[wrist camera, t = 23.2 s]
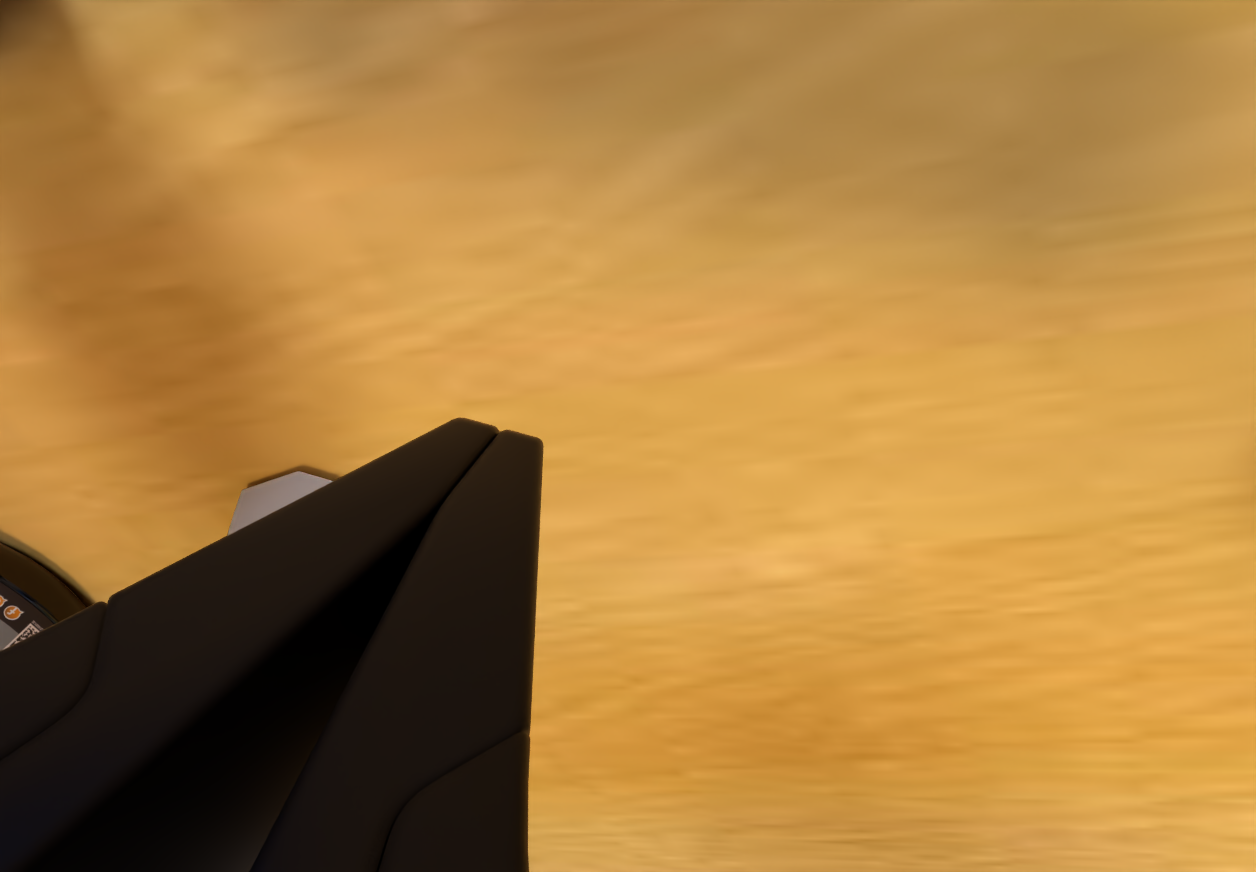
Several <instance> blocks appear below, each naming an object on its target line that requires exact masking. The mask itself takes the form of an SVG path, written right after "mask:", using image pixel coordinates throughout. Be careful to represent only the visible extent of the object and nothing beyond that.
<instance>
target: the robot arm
mask: <svg viewBox="0 0 1256 872" xmlns="http://www.w3.org/2000/svg"><path fill="white" fill-rule="evenodd" d="M542 466H543V442H542V441H541V440H540V439H539V438H537V437H533V436H529V435H526V434H522V433H518V432H515V431H511V430H504V431H501V432H500V431H499V430H498V429H497V428H496V427H495V426H492V425H489V424H485V423H481V422H478V421H474V420H470V419H466V418H456V419H453V420H451V421H449V422H447V423H445V424H443V425H441V426H439V427H437V428H435V429H434V430H432V431H430V432H428V433H426V434H424V435H422V436H420V437H418V438H416V439H414V440H412V441H410V442H408V443H406V444H404V445H402V446H401V447H399V448H397V449H395V450H393V451H391V452H389V453H387V454H385V455H383V456H381V457H379V458H377V459H375V460H373V461H371V462H369V463H368V464H366V465H364V466H362V467H360V468H358V469H356V470H354V471H352V472H350V473H348V474H346V475H344V476H342V477H340V478H338V479H336V480H335V481H333V482H331V483H329V484H327V485H325V486H323V487H321V488H319V489H317V490H315V491H313V492H311V493H309V494H307V495H305V496H303V497H302V498H300V499H298V500H296V501H294V502H292V503H290V504H288V505H286V506H284V507H282V508H280V509H278V510H276V511H274V512H272V513H270V514H269V515H267V516H265V517H263V518H261V519H259V520H257V521H255V522H253V523H251V524H249V525H247V526H245V527H243V528H241V529H239V530H237V531H236V532H234V533H232V534H230V535H228V536H226V537H224V538H222V539H220V540H218V541H216V542H214V543H212V544H210V545H208V546H206V547H204V548H203V549H201V550H199V551H197V552H195V553H193V554H191V555H189V556H187V557H185V558H183V559H181V560H179V561H177V562H175V563H173V564H171V565H169V566H168V567H166V568H164V569H162V570H160V571H158V572H156V573H154V574H152V575H150V576H148V577H146V578H144V579H142V580H140V581H138V582H136V583H135V584H133V585H131V586H129V587H127V588H125V589H123V590H121V591H119V592H117V593H115V594H113V595H112V596H111V597H110V598H109V600H108V604H107V603H105V602H97V603H95V604H93V605H91V606H89V607H87V608H85V609H83V610H81V611H79V612H78V613H76V614H74V615H72V616H70V617H68V618H66V619H64V620H62V621H60V622H58V623H56V624H54V625H52V626H50V627H48V628H46V629H44V630H42V631H40V632H38V633H36V634H34V635H32V636H30V637H28V638H26V639H24V640H22V641H20V642H18V643H16V644H14V645H12V646H10V647H8V648H5V649H3V650H1V651H0V872H529V862H528V778H529V756H530V737H529V734H530V724H531V702H532V681H533V659H534V638H535V616H536V595H537V573H538V552H539V531H540V509H541V488H542Z"/></svg>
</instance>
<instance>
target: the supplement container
mask: <svg viewBox="0 0 1256 872" xmlns="http://www.w3.org/2000/svg"><path fill="white" fill-rule="evenodd" d="M85 608H86V607H85V605H84V604H83V603H82V602H81V601H80V600H79V599H78V597H77V596H76V595H75V594H74V593H73V592H72V591H71V590H70V589H69V588H68V587H67V586H65V585H64V584H63V583H62V582H61V581H60V580H59V579H57V578H56V577H55V576H54V575H52V574H51V573H50V572H49V571H47V570H46V569H44V568H43V567H42V566H40V565H39V564H37V563H36V562H34V561H33V560H31V559H30V558H28V557H26V556H25V555H23V554H21V553H19V552H18V551H16V550H14V549H12V548H10V547H8V546H6V545H4V544H2V543H0V651H1V650H3V649H5V648H8V647H10V646H12V645H14V644H16V643H18V642H20V641H22V640H24V639H26V638H28V637H30V636H32V635H34V634H36V633H38V632H40V631H42V630H44V629H46V628H48V627H50V626H52V625H54V624H56V623H58V622H60V621H62V620H64V619H66V618H68V617H70V616H72V615H74V614H76V613H78V612H79V611H81V610H83V609H85Z"/></svg>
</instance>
